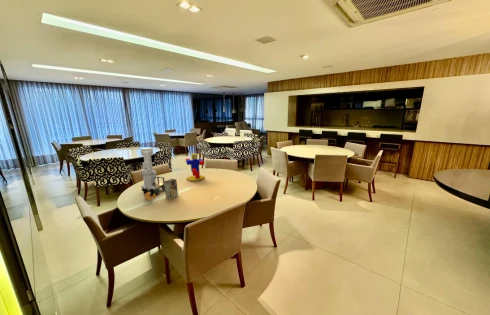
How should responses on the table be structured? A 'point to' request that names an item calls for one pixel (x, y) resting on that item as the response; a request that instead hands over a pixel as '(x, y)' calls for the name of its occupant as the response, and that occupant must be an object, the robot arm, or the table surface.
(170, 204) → the table surface
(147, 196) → the block
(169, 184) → the coffee box
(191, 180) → the figurine
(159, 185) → the wooden toy car
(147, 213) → the table surface
